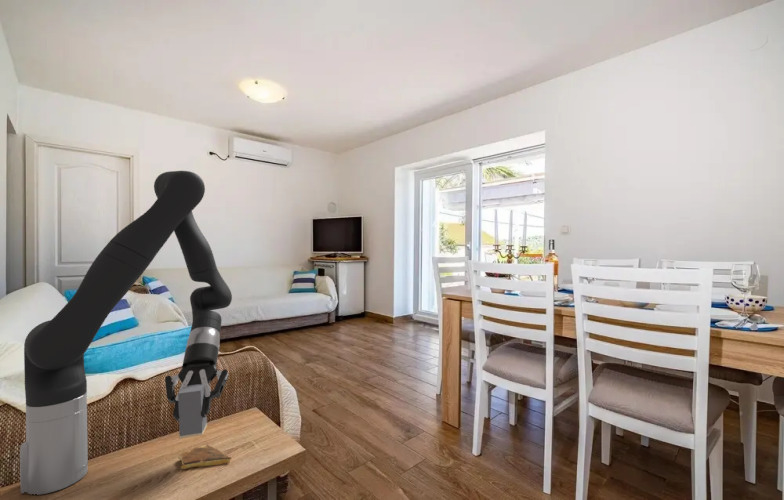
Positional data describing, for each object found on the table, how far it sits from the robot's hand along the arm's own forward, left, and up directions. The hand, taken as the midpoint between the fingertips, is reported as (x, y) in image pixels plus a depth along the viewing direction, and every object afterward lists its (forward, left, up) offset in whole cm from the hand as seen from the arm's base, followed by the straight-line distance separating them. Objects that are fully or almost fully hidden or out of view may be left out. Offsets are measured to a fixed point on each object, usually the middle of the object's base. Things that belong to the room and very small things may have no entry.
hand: (190, 417), depth 79 cm
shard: (+3, +2, -11) cm, 11 cm away
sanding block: (0, +2, -4) cm, 4 cm away
